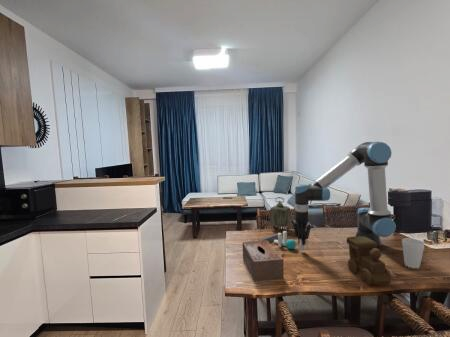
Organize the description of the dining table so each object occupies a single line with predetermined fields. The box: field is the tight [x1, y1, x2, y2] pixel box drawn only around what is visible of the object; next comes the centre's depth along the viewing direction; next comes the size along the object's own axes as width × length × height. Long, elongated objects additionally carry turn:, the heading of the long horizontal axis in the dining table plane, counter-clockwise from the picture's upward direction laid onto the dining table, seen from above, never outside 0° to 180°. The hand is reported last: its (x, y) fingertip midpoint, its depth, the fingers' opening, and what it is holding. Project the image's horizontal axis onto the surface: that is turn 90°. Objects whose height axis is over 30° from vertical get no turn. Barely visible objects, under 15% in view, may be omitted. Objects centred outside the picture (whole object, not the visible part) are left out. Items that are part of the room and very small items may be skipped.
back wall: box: [257, 232, 279, 243], centre depth 174 cm, size 2×20×3 cm, turn 129°
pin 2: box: [282, 230, 288, 243], centre depth 167 cm, size 2×2×8 cm
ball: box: [286, 239, 297, 250], centre depth 159 cm, size 6×6×6 cm
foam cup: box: [401, 237, 425, 269], centre depth 134 cm, size 10×9×13 cm
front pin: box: [273, 239, 287, 248], centre depth 167 cm, size 2×2×8 cm
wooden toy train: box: [346, 236, 392, 286], centre depth 123 cm, size 20×11×17 cm, turn 6°
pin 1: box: [277, 232, 283, 248], centre depth 164 cm, size 2×2×8 cm
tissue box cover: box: [242, 240, 285, 282], centre depth 136 cm, size 26×14×10 cm, turn 8°
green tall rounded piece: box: [268, 196, 292, 231], centre depth 196 cm, size 14×9×25 cm, turn 58°
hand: (301, 249), depth 154 cm, fingers closed
